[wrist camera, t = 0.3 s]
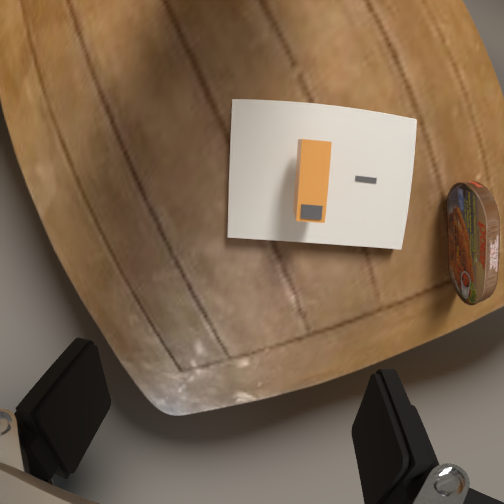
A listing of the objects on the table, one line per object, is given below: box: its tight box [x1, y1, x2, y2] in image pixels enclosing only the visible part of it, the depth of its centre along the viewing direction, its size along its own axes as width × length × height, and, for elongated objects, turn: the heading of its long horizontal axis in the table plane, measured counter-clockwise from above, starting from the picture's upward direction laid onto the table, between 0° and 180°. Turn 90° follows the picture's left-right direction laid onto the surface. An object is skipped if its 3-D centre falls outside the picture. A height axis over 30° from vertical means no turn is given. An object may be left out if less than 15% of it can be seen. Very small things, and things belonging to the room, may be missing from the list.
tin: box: [447, 181, 500, 305], centre depth 32 cm, size 15×3×8 cm, turn 13°
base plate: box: [228, 99, 417, 249], centre depth 33 cm, size 15×20×4 cm
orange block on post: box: [293, 139, 332, 223], centre depth 28 cm, size 7×2×5 cm, turn 177°
